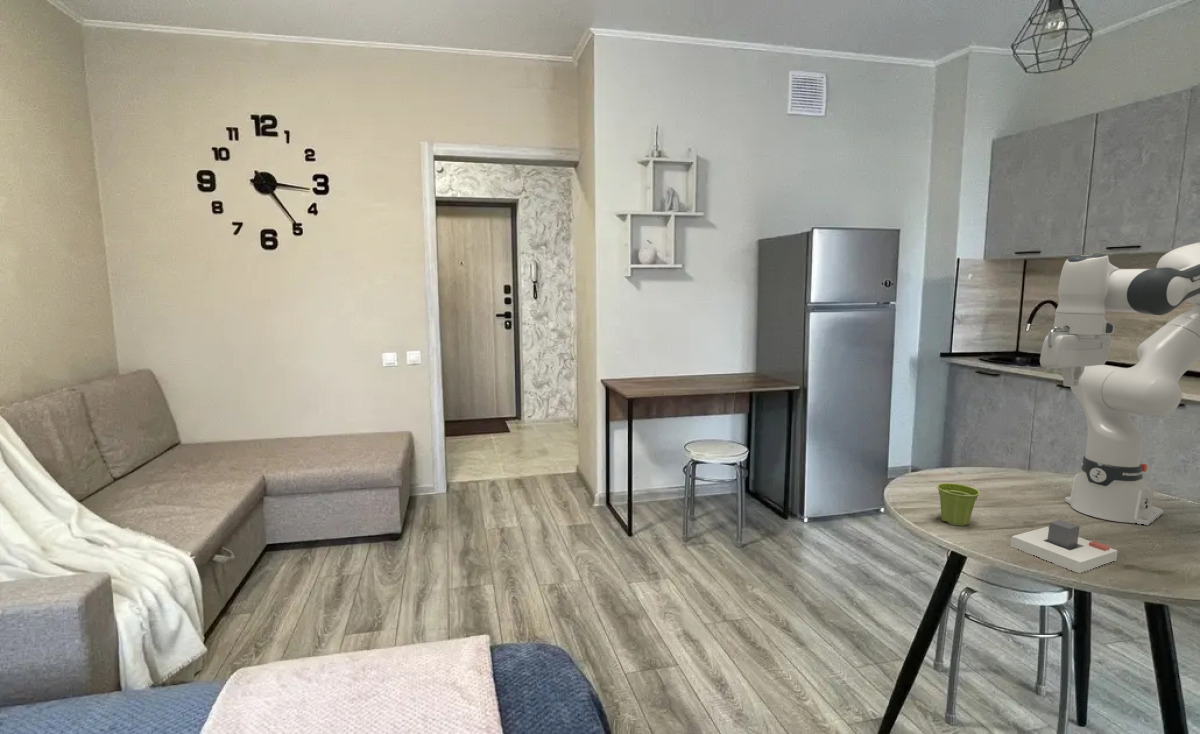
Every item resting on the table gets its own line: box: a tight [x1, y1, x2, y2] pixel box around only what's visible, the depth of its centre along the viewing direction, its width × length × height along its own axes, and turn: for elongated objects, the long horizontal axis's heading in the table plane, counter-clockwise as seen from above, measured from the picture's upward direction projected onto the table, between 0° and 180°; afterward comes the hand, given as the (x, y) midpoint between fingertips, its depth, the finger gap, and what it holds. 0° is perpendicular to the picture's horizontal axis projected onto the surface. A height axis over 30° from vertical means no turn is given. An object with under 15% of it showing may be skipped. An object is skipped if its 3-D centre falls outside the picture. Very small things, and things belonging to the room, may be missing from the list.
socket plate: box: [1010, 526, 1118, 574], centre depth 135 cm, size 14×14×3 cm
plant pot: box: [936, 482, 981, 527], centre depth 152 cm, size 9×9×9 cm
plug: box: [1047, 518, 1081, 550], centre depth 135 cm, size 4×4×7 cm
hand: (1070, 385), depth 138 cm, fingers closed
